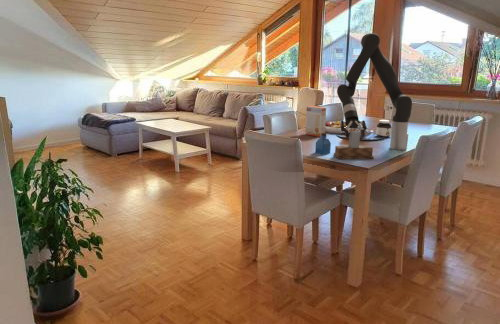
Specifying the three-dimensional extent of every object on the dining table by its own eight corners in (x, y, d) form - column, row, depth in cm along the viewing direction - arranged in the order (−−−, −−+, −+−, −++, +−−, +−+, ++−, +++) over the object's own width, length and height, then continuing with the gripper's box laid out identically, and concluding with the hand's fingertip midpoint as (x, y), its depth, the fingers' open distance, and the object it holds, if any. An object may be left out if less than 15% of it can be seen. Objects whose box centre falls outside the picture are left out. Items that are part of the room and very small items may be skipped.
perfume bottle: (322, 154, 229) (323, 134, 226) (315, 152, 234) (316, 133, 230) (330, 153, 232) (331, 133, 229) (322, 151, 237) (323, 131, 234)
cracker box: (325, 136, 280) (326, 107, 275) (319, 137, 277) (321, 108, 271) (310, 133, 291) (311, 105, 285) (305, 134, 287) (306, 106, 281)
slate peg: (356, 145, 224) (357, 130, 222) (359, 147, 220) (360, 132, 218) (348, 146, 224) (349, 130, 222) (351, 147, 220) (352, 132, 217)
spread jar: (379, 137, 276) (380, 121, 273) (371, 134, 287) (372, 119, 284) (394, 137, 278) (396, 121, 275) (386, 134, 289) (387, 118, 286)
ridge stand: (367, 154, 229) (367, 144, 228) (373, 159, 220) (374, 148, 218) (333, 155, 228) (334, 145, 226) (338, 159, 218) (339, 149, 216)
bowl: (355, 127, 315) (356, 118, 313) (365, 135, 286) (366, 124, 284) (318, 127, 316) (318, 118, 314) (324, 135, 287) (324, 124, 285)
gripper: (340, 109, 223) (345, 133, 215) (364, 109, 224) (370, 132, 216) (336, 117, 230) (341, 140, 222) (360, 117, 231) (365, 140, 223)
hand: (355, 136), depth 219 cm, fingers open, 8 cm apart
